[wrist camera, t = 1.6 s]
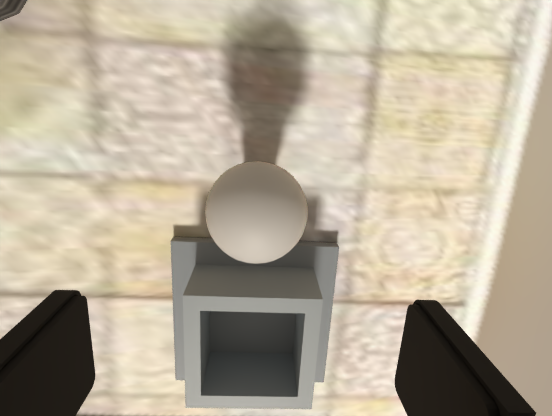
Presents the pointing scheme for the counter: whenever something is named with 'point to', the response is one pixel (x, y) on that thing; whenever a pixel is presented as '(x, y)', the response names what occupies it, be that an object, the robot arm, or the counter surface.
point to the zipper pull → (10, 8)
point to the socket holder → (251, 324)
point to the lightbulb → (256, 212)
